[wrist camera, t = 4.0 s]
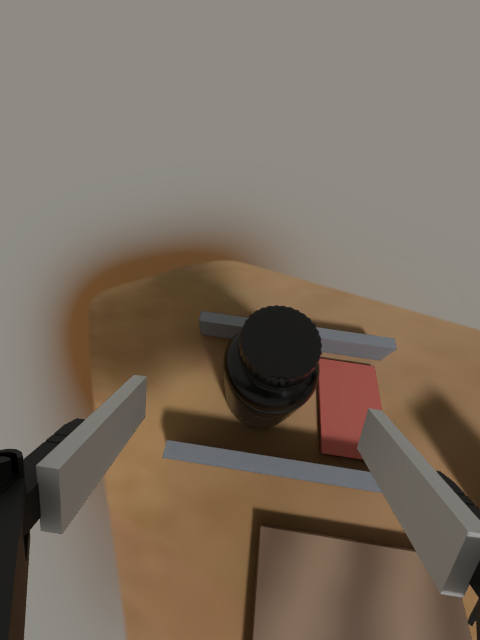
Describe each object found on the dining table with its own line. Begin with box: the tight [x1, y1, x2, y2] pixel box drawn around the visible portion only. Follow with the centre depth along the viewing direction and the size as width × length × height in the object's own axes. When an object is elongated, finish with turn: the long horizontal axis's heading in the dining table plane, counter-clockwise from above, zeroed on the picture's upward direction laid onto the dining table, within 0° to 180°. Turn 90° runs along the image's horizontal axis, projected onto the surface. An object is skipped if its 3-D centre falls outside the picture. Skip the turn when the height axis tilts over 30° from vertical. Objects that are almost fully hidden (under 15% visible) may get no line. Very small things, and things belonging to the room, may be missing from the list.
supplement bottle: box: [223, 305, 322, 428], centre depth 19 cm, size 7×7×12 cm
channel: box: [162, 311, 397, 493], centre depth 22 cm, size 20×13×3 cm
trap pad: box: [318, 358, 382, 460], centre depth 23 cm, size 6×9×1 cm, turn 172°
